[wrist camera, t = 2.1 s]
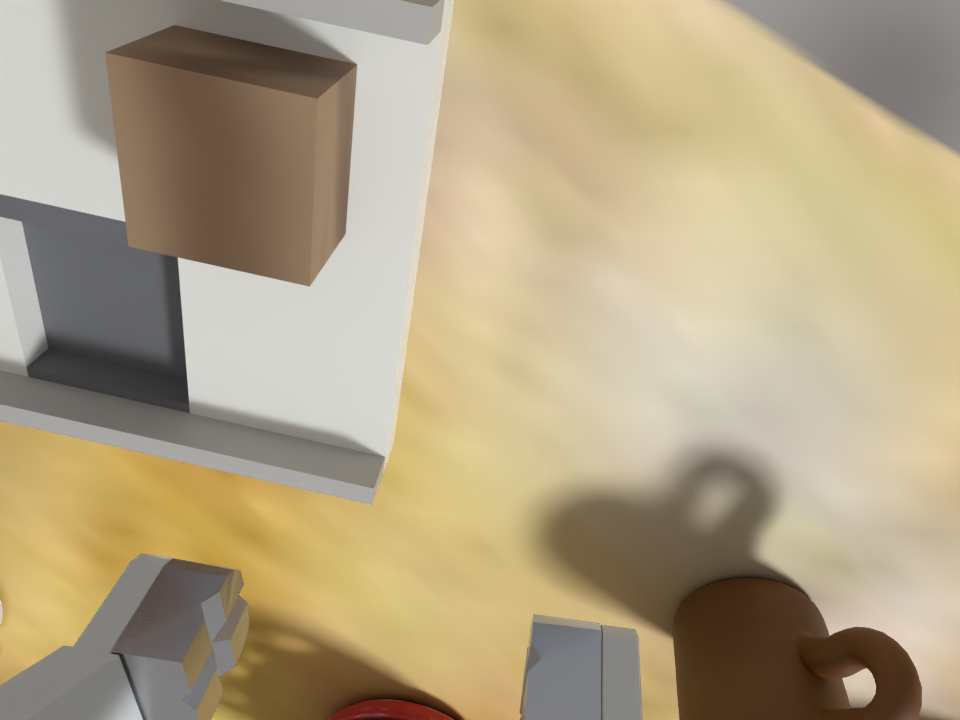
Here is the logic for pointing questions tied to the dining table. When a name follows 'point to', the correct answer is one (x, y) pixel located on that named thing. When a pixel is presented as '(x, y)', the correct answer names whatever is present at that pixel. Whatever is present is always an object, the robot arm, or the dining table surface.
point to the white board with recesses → (203, 287)
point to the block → (233, 151)
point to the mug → (781, 659)
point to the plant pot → (388, 711)
